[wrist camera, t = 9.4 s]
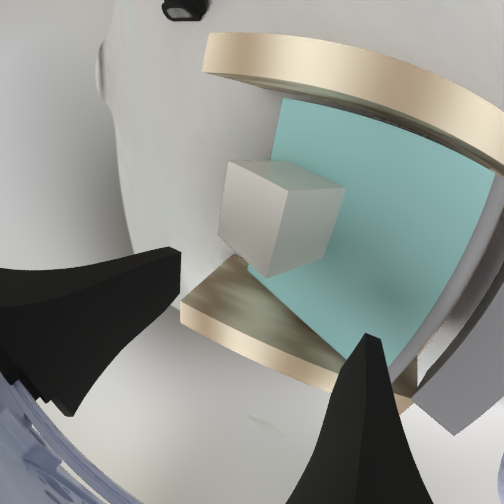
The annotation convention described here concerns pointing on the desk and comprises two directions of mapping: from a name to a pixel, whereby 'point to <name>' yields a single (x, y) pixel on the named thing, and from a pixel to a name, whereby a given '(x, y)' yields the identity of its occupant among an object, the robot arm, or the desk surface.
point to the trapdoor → (399, 253)
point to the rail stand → (357, 97)
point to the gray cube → (278, 214)
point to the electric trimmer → (183, 9)
